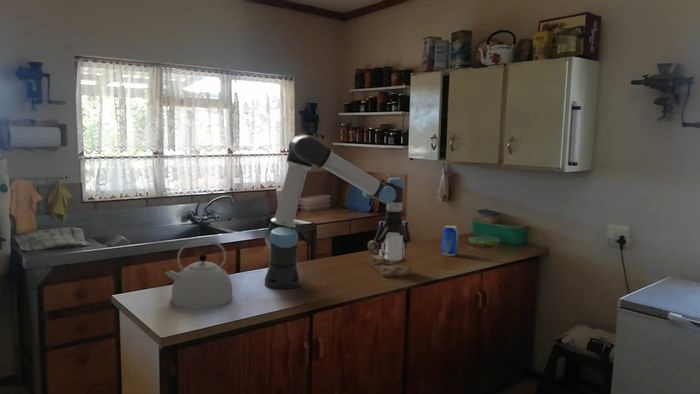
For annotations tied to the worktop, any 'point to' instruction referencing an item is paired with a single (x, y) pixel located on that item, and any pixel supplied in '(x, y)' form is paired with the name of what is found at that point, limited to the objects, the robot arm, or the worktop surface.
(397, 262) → the rack
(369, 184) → the robot arm
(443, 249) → the beer can
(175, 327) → the worktop surface
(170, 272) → the kettle
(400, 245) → the mug
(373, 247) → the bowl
